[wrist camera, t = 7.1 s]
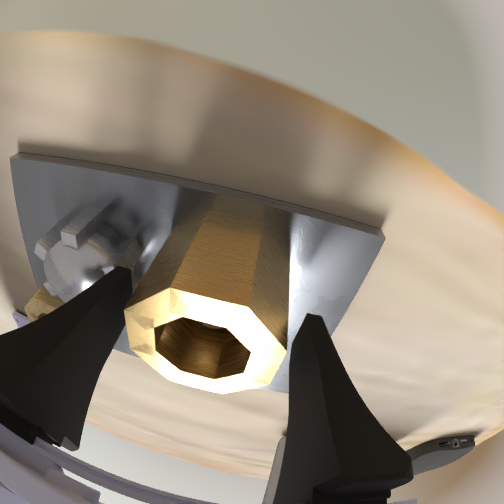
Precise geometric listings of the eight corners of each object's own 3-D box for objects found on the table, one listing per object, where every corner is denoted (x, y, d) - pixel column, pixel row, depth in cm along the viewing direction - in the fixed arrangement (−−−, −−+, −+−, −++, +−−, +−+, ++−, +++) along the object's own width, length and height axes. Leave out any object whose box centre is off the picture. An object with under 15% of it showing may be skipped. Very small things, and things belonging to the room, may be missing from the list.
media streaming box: (367, 467, 37) (368, 482, 34) (427, 436, 29) (430, 455, 26) (424, 463, 38) (426, 475, 36) (481, 431, 30) (484, 446, 27)
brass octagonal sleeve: (268, 319, 16) (259, 401, 12) (167, 294, 16) (133, 369, 11) (300, 231, 12) (303, 319, 8) (173, 201, 12) (119, 273, 8)
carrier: (292, 385, 21) (289, 431, 18) (55, 316, 20) (32, 351, 17) (381, 229, 13) (406, 285, 10) (19, 152, 12) (-30, 181, 9)
